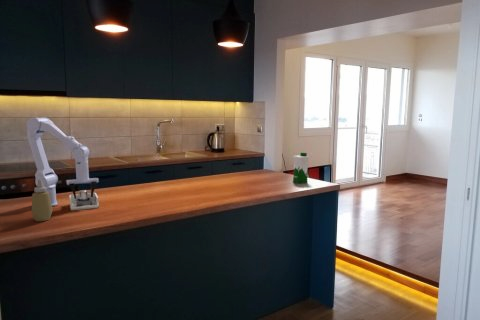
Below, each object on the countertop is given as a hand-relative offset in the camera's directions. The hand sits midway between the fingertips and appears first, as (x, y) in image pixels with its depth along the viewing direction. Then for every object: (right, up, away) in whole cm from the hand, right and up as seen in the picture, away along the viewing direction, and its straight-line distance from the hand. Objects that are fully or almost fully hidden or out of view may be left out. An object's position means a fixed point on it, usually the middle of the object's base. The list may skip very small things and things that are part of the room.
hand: (83, 197), depth 182 cm
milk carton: (+119, +3, +64) cm, 135 cm away
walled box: (0, -4, +1) cm, 4 cm away
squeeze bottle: (-9, -8, -22) cm, 25 cm away
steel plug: (0, -4, 0) cm, 4 cm away
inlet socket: (0, -4, +1) cm, 4 cm away
